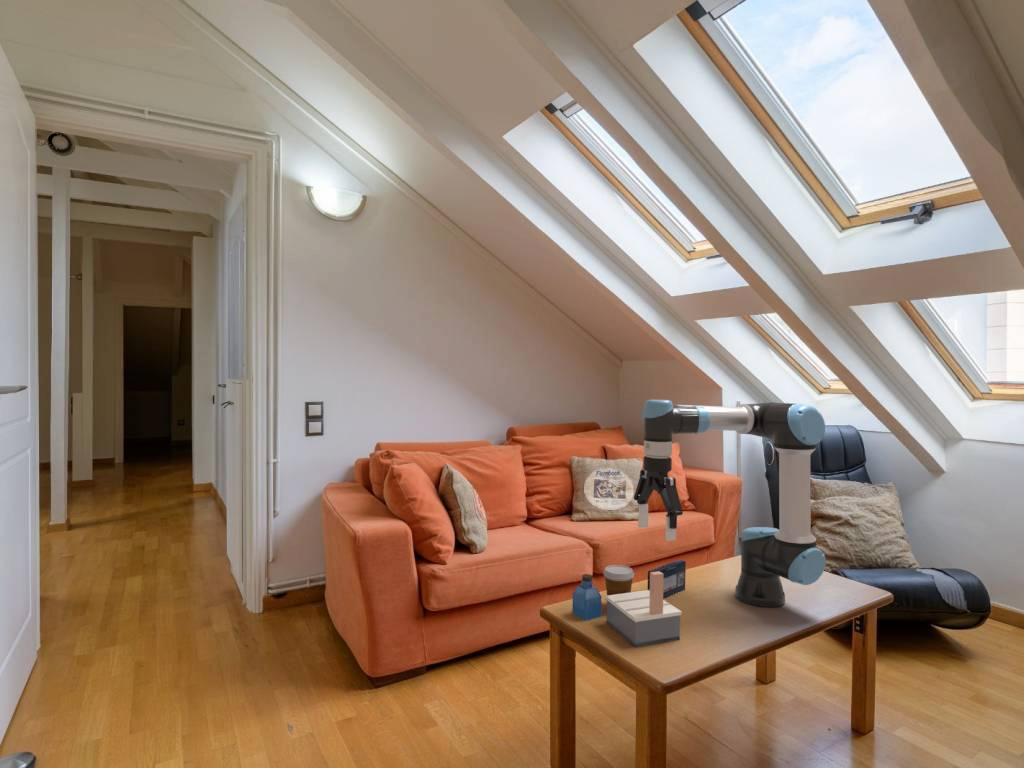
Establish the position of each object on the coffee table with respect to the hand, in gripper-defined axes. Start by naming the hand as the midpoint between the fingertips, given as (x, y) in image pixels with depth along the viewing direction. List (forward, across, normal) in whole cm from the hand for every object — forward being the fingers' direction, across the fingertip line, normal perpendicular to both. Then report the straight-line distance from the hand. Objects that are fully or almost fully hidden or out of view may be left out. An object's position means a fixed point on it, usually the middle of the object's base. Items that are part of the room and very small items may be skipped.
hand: (656, 533), depth 160 cm
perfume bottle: (+30, -21, -10) cm, 38 cm away
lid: (+23, -6, 0) cm, 24 cm away
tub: (+30, -6, 0) cm, 30 cm away
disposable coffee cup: (+30, -24, +2) cm, 38 cm away
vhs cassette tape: (+30, -28, +22) cm, 46 cm away
